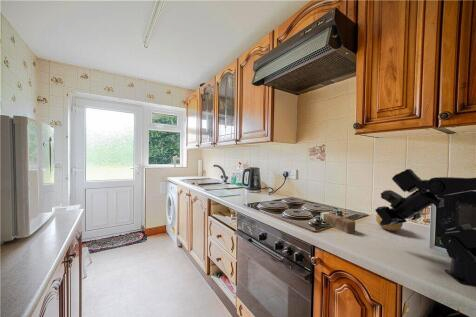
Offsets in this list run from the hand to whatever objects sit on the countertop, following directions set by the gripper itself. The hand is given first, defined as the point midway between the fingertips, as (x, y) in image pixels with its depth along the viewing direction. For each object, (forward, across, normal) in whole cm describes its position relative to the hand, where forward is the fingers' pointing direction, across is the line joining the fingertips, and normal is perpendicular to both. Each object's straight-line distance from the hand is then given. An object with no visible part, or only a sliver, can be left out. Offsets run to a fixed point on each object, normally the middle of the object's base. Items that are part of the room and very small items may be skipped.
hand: (381, 224), depth 80 cm
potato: (+13, -22, -1) cm, 26 cm away
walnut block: (+13, 0, -5) cm, 14 cm away
